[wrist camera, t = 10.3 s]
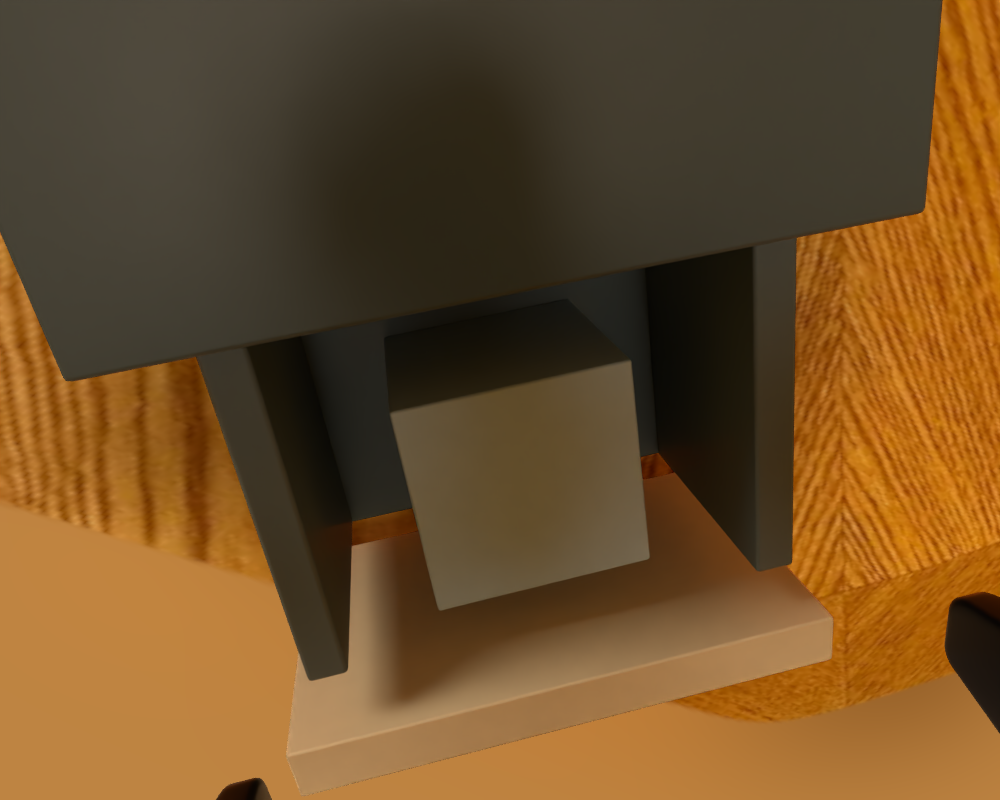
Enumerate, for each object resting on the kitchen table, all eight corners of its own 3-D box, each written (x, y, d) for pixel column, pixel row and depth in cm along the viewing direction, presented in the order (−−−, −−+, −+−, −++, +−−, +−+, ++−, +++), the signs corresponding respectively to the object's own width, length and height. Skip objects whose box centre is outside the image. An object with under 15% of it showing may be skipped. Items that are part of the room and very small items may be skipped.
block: (589, 461, 20) (650, 559, 15) (422, 499, 19) (438, 612, 15) (568, 298, 18) (632, 359, 13) (383, 337, 17) (388, 413, 13)
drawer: (701, 533, 23) (830, 700, 16) (330, 621, 21) (316, 836, 15) (677, 45, 17) (861, 14, 11) (175, 130, 16) (50, 150, 10)
